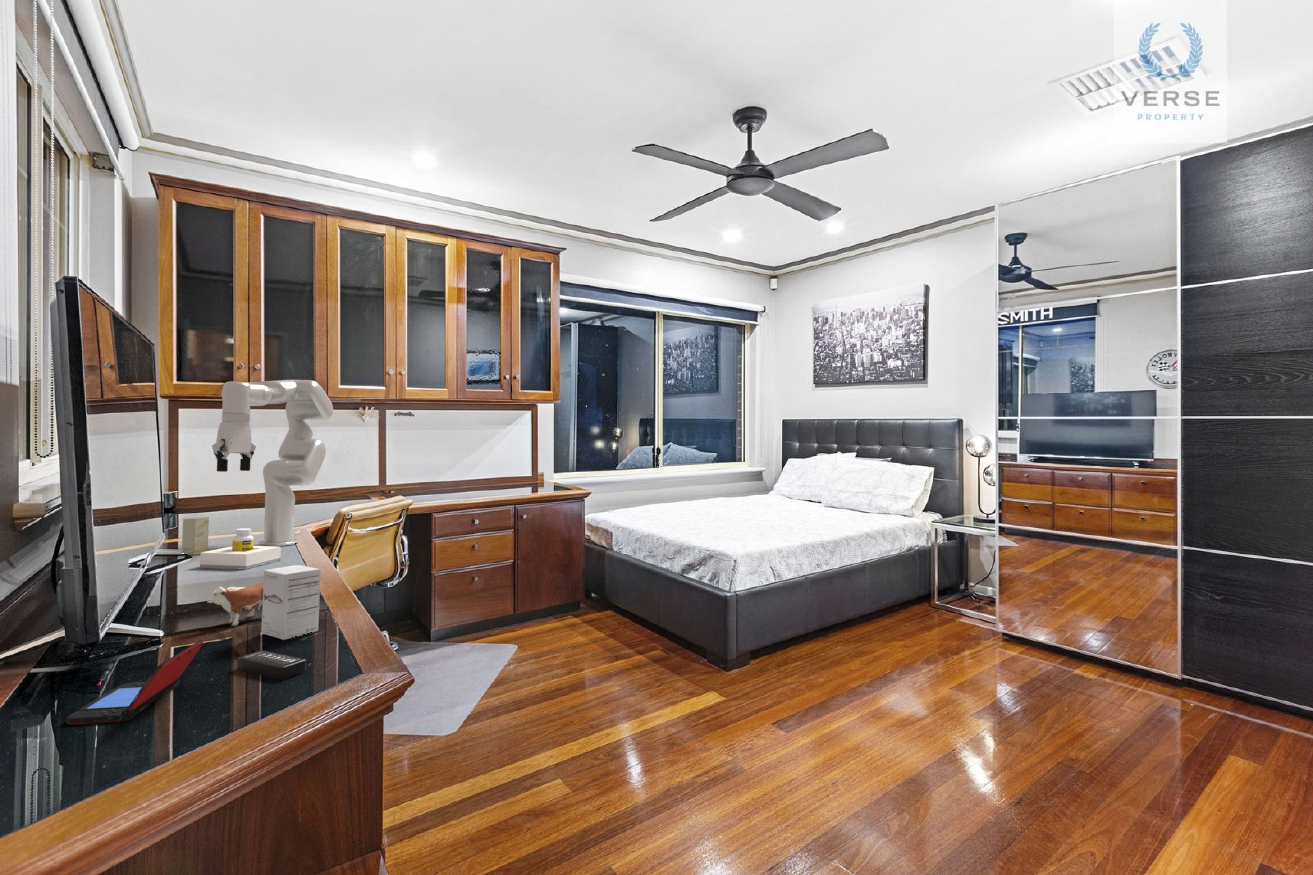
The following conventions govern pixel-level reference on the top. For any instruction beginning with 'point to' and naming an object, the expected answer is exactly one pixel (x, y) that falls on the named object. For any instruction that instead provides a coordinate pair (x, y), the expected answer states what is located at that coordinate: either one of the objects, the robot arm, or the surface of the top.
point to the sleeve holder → (239, 557)
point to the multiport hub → (271, 664)
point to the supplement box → (290, 601)
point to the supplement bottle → (243, 540)
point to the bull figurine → (238, 600)
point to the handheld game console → (136, 692)
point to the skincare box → (195, 535)
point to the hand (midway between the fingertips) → (233, 471)
